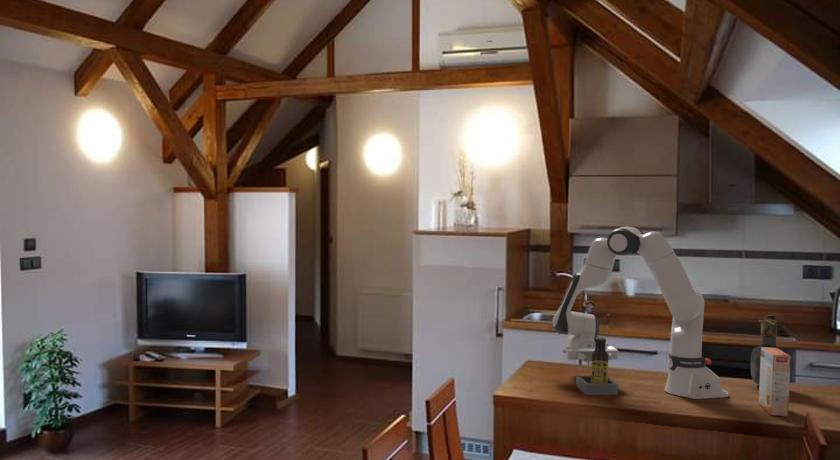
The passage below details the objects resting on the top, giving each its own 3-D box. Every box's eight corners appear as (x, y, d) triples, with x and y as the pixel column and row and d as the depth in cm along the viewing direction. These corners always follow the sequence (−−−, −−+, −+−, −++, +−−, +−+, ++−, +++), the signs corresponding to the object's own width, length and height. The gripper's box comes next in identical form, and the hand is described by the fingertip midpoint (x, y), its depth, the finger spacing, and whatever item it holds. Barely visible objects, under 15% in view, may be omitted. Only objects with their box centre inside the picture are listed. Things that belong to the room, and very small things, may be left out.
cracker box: (789, 417, 227) (791, 355, 226) (770, 416, 228) (772, 354, 228) (776, 405, 241) (778, 347, 240) (758, 404, 242) (760, 346, 241)
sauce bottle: (590, 391, 256) (589, 339, 255) (591, 387, 261) (591, 336, 261) (607, 392, 253) (607, 340, 252) (609, 388, 259) (608, 337, 258)
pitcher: (755, 393, 256) (758, 314, 255) (746, 381, 274) (749, 307, 273) (787, 396, 253) (790, 316, 252) (776, 383, 271) (779, 309, 270)
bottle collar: (606, 385, 264) (606, 375, 264) (617, 395, 251) (617, 384, 251) (576, 385, 263) (576, 375, 263) (586, 395, 250) (586, 384, 250)
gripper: (561, 342, 269) (570, 349, 256) (611, 342, 271) (623, 349, 257) (560, 358, 270) (570, 366, 256) (610, 357, 271) (623, 366, 257)
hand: (597, 358), depth 256 cm, fingers open, 8 cm apart
